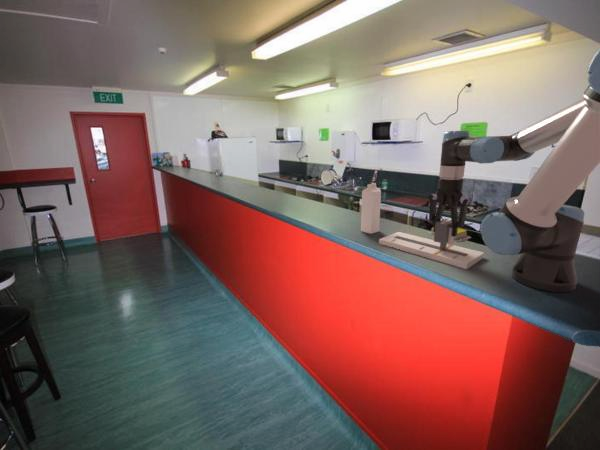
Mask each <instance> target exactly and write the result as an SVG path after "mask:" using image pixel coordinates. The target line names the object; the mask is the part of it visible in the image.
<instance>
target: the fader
mask: <svg viewBox="0 0 600 450" xmlns="http://www.w3.org/2000/svg"><path fill="white" fill-rule="evenodd" d="M450 227H452V220H451V218H444V219H441V220H440V221H438V222H436V226H435V235H433V237H434V238H433V240H434V241H435V242H439V243H440V248H442V249H445V248H446V247H447V244H448V237H449V228H450Z"/></svg>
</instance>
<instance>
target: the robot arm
mask: <svg viewBox="0 0 600 450" xmlns="http://www.w3.org/2000/svg"><path fill="white" fill-rule="evenodd" d="M587 73H588V74H589V75H588V77H587V82H588V86H587V87H586V88H585V90H584V92H583V93H582V97H583V98H582V99H580V100H578V101H576V102H574V103H572V104H570V105H568V106H566V107H565V108H562V109H560V110H558V111H556V112H554V113H552V114H551V115H548V116H546V117H544V118H543V119H541V120H540V119H539V121H537V122H535V123H533V124H531V125H528V126H527V127H525V128H522V129H521V130H519V131H517V132H515V133H513V134H510V135H500V136H499V135H497V136H496V135H495V136H494V135H491V136H488V135H487V136H485V135H484V136H470V132H469V131H468V130H448V131H445V132H444V133H443V138H442V142H441V155H440V166H439V167H440V168H439V173H438V177H439V179H438V184H437V191H436V193H432V194H429V195H428V198H429V215H428V221H429V222H432V223H433V227H434V230H433V231H434V232H435V226H436V222H438V221H441V220H442V217H443V214H444V211H445V208H446V206H448V207H449V210H450V219H451V220H452V227H450V228H449V237H448V243H447V244H448V245H454V237H455V236H456V235H457V230H458V228H461V227H464V226H465V224H466V223H465V222H466V216H467V211H468V205H469V204H470V202H471V199H470V197H468V198H467V197H465V196H464V195H463V187H464V186H463V185H464V175H465V167H466V162H470V163H477V164H480V165H481V164H493V163H495V162H507V161H508V162H511V161H516V162H517V161H523V160H527V159H529V158H531V157H532V156H533V155H534V154H535V153H536V152H538V151H541V150H543V149H545V148H547V147H550V146H552V145H555V146H554V147H553V148H552V150H551V151H550V153H548V155H547V157H546V158H545V159H544V161H543V163H542V164H541V165H540V166H539V168H538V169H537V170H536V171H535V173H534V174H533V176H532V177H531V178H530V180H529V182H528V183H527V184H526V186H525V187H524V188H523V189H522V191H521V192H520V194H519V195H518V196H513V197H510V198H508V199H507V201H506V202H505V203H504V204H503V206H502V207H501V208H500V210H499V211H498V212H497V211H495V212H491V213H489V214H487V215H486V216H484V218H483V220H482V221H481V224H480V234H481V239H482V240H483V243H484V244H485V246H486V247H487V248H488V249H489V250H490V251H491V252H493V253H494V254H497V255H499V256H517V255H519V256H518V257H517V258H516V260H515V262H514V263H513V265H512V267H511V271H510V272H511V273H510V276H511V277H512V278H513V279H514V280H515V281H517V282H519V283H521V285H525V286H528V287H530V288H534V289H537V290H541V291H545V292H546V291H547V292H552V293H569V292H572V291H575V290H576V288H577V283H578V277H577V273H576V266H575V261H574V260H575V257H576V256H575V255H576V251H577V247H578V244H579V241H580V236H581V233H582V228H583V225H584V224H585V221H584V219H585V210H583V209H582V208H580V207H578V206H574V205H573V206H572V205H568V204H567V205H566V204H565V203H566V202H567V201H568V200H569V198H570V197H571V196H572V195H573V194H574V193H575V192H576V191H577V189H578V188H579V187H580V186H581V185H582V184H583V182H584V181H585V180H586V179H587V178H588V177H589V176H590V174H592V173H593V171H594V170H595V169H596V167H598V165H600V48H599V49H598V50H597V51H596V53H594V55H593V57H592V59H591V60H590V62H589V66H588V68H587ZM437 200H438V201H439V202H438V201H437ZM459 201H460V204H461V205H460V208H459V213H458V207H459V205H458V203H459ZM437 202H438V208H437Z"/></svg>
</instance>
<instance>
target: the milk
mask: <svg viewBox="0 0 600 450" xmlns="http://www.w3.org/2000/svg"><path fill="white" fill-rule="evenodd" d="M381 196H382V190H381V189H380V188H378V187H377V183H376V182H375V183H369V184H367V188H365V189H362V191H361V212H360V213H361V215H360V216H361V217H360V218H361V219H360V231H361V232H362V233H367V234H370V235H372V234H375V233H378V232H380V221H381V217H380V216H381V203H382V200H381V199H382V197H381Z"/></svg>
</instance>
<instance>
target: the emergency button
mask: <svg viewBox="0 0 600 450" xmlns="http://www.w3.org/2000/svg"><path fill="white" fill-rule="evenodd" d="M433 230H434V226H433V227H432V228H431V231H429V232H427V233H428V234H429V235H432V236H434V235H435V232H434V231H433ZM467 231H468V230H467V229H463V228H461V227H458V230H457V235H456V236H455V237H454V241H455V242H461V243H462V242H464V241H467V240H470V239H472V237H471V236H468V235H467ZM460 239H461V240H460ZM459 240H460V241H459ZM463 240H464V241H463ZM454 241H453V242H454Z"/></svg>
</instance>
